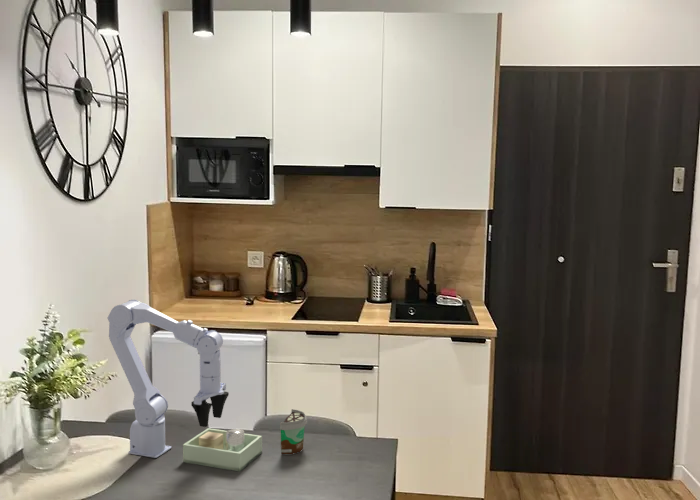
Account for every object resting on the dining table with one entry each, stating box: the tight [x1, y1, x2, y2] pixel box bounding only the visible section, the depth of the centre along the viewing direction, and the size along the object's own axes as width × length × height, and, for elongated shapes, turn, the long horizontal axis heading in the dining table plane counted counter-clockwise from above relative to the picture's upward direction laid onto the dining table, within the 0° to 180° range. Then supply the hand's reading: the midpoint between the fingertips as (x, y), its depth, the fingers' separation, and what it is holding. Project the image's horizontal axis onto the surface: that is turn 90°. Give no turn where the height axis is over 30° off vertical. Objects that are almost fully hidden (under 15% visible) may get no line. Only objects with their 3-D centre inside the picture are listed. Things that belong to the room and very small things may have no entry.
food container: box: [279, 409, 308, 455], centre depth 203 cm, size 12×6×10 cm, turn 168°
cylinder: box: [226, 428, 245, 452], centre depth 195 cm, size 5×5×7 cm
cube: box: [199, 432, 223, 450], centre depth 198 cm, size 5×5×5 cm
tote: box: [182, 427, 263, 472], centre depth 196 cm, size 18×14×5 cm
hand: (210, 421), depth 197 cm, fingers open, 7 cm apart
